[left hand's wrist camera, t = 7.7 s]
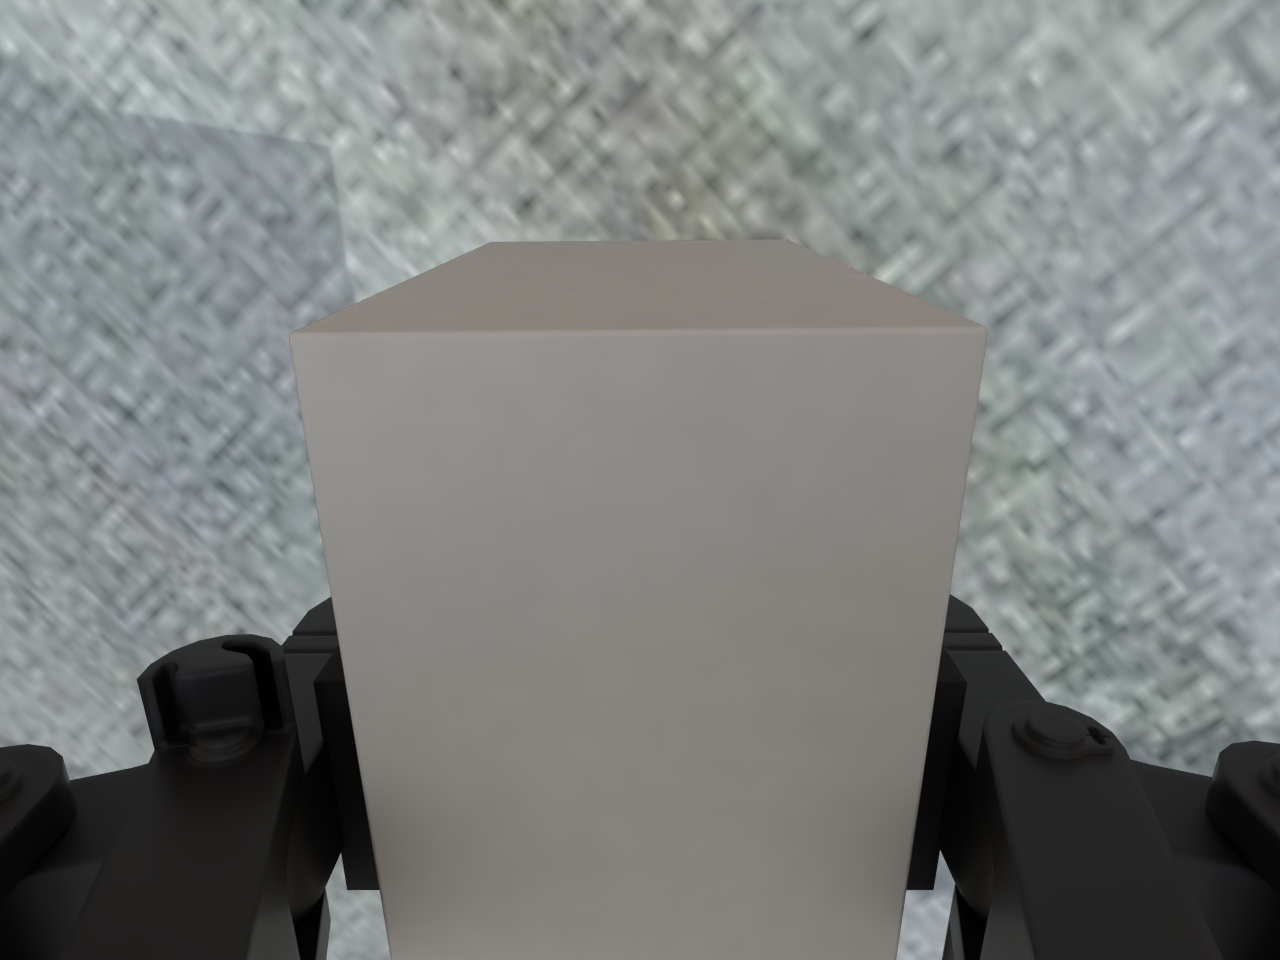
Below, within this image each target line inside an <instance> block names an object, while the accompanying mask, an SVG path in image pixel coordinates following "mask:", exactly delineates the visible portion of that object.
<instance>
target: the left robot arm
mask: <svg viewBox="0 0 1280 960" xmlns="http://www.w3.org/2000/svg"><path fill="white" fill-rule="evenodd" d="M137 682H138V686H139V690H140V694H141V697H142V701H143V705H144V709H145V713H146V717H147V721H148V725H149V729H150V733H151V737H152V741H153V745H154V749H155V751H154V753H153V755H152V757H151V759H150V761H149V763H148V764H145V765H141V766H137V767H133V768H129V769H124V770H119V771H114V772H109V773H104V774H100V775H95V776H90V777H85V778H80V779H75V780H69V777H68V774H67V770H66V767H65V764H64V760H63V757H62V756H61V755H60V754H58V753H57V752H56V751H54V750H53V749H52V748H51V747H45V746H38V745H30V744H26V745H17V746H9V747H1V748H0V960H326V956H327V947H328V939H329V930H330V922H331V920H330V913H329V906H328V900H327V894H326V888H325V887H326V884H327V882H328V880H329V878H330V875H331V873H332V871H333V869H334V867H335V864H336V862H337V860H338V858H339V855H340V853H341V855H342V861H343V867H344V873H345V879H346V885H347V890H380V888H379V882H378V876H377V870H376V864H375V858H374V852H373V846H372V840H371V834H370V828H369V822H368V816H367V810H366V804H365V797H364V791H363V785H362V779H361V773H360V767H359V761H358V755H357V749H356V743H355V737H354V731H353V725H352V719H351V712H350V706H349V700H348V694H347V688H346V682H345V676H344V670H343V664H342V658H341V652H340V646H339V640H338V634H337V628H336V621H335V615H334V609H333V603H332V597H330V598H328V599H327V600H325V601H324V602H322V603H320V604H319V605H317V606H316V607H314V608H312V609H311V610H309V611H308V613H307V614H306V615H305V616H304V618H303V619H302V620H301V621H300V623H299V624H298V625H297V627H296V628H295V629H294V630H293V635H292V636H289V637H288V638H287V639H286V641H285V642H284V643H283V645H282V646H281V645H279V644H278V643H277V642H275V641H274V640H273V639H271V638H267V637H262V636H257V635H253V634H245V635H225V636H220V637H215V638H210V639H205V640H200V641H197V642H195V643H192V644H189V645H187V646H184V647H181V648H179V649H176V650H173V651H172V652H170V653H168V654H167V655H165V656H163V657H162V658H160V659H158V660H157V661H155V662H153V663H152V664H150V665H149V667H148V668H147V669H146V670H145V671H144V672H143V673H142V674H141V675H140V676H139V677H138V678H137ZM940 850H941V852H942V854H943V857H944V859H945V861H946V863H947V866H948V868H949V870H950V872H951V874H952V877H953V879H954V881H955V888H954V894H953V900H952V905H951V911H950V917H949V922H948V928H947V934H946V939H945V945H944V951H943V957H942V960H1280V744H1277V743H1269V742H1260V741H1248V742H1240V743H1233V744H1231V745H1229V746H1228V747H1227V748H1225V749H1224V750H1223V751H1221V752H1220V753H1219V756H1218V760H1217V763H1216V766H1215V770H1214V773H1213V776H1212V777H1208V776H1203V775H1199V774H1194V773H1189V772H1184V771H1179V770H1174V769H1169V768H1164V767H1159V766H1154V765H1149V764H1146V763H1142V762H1138V761H1134V760H1130V758H1129V756H1128V754H1127V751H1126V749H1125V748H1124V747H1123V745H1122V744H1121V743H1120V741H1119V740H1118V739H1117V738H1116V736H1115V735H1114V734H1113V732H1111V731H1110V730H1108V729H1107V728H1105V727H1104V726H1103V725H1101V724H1100V723H1098V722H1097V721H1096V720H1094V719H1093V718H1091V717H1089V716H1087V715H1084V714H1082V713H1080V712H1077V711H1075V710H1073V709H1071V708H1068V707H1066V706H1061V705H1057V704H1053V703H1049V702H1046V701H1045V700H1044V699H1043V697H1042V696H1041V695H1040V694H1039V692H1038V691H1037V690H1036V688H1035V687H1034V686H1033V685H1032V683H1031V682H1030V681H1029V680H1028V678H1027V677H1026V676H1025V674H1024V673H1023V672H1022V671H1021V669H1020V668H1019V667H1018V666H1017V664H1016V663H1015V662H1014V661H1013V659H1012V658H1011V657H1010V655H1009V654H1008V653H1007V652H1006V651H1003V650H1002V645H1001V644H1000V643H999V641H998V640H997V639H996V638H995V636H994V635H993V634H992V633H989V629H988V628H987V626H986V625H985V624H984V622H983V621H982V620H981V619H980V617H979V616H978V615H977V614H976V612H975V611H974V610H973V608H971V607H970V606H968V605H966V604H965V603H963V602H962V601H960V600H958V599H957V598H955V597H954V596H952V595H950V594H949V601H948V608H947V615H946V621H945V628H944V635H943V642H942V649H941V656H940V662H939V669H938V676H937V683H936V690H935V697H934V703H933V710H932V717H931V724H930V731H929V738H928V744H927V751H926V758H925V765H924V772H923V779H922V786H921V792H920V799H919V806H918V813H917V820H916V827H915V833H914V840H913V847H912V854H911V861H910V868H909V874H908V881H907V888H906V890H933V889H934V883H935V877H936V871H937V864H938V858H939V852H940Z"/></svg>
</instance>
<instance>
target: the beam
mask: <svg viewBox="0 0 1280 960" xmlns="http://www.w3.org/2000/svg"><path fill="white" fill-rule="evenodd" d="M987 334H988V332H987V328H986V327H984V326H982V325H980V324H977V323H975V322H973V321H970V320H968V319H966V318H964V317H961V316H959V315H957V314H955V313H952V312H950V311H948V310H946V309H943V308H941V307H939V306H937V305H934V304H932V303H930V302H927V301H925V300H923V299H921V298H918V297H916V296H914V295H912V294H909V293H907V292H905V291H903V290H900V289H898V288H896V287H893V286H891V285H889V284H887V283H884V282H882V281H880V280H878V279H875V278H873V277H871V276H869V275H866V274H864V273H862V272H860V271H857V270H855V269H853V268H850V267H848V266H846V265H844V264H841V263H839V262H837V261H835V260H832V259H830V258H828V257H826V256H823V255H821V254H819V253H817V252H814V251H812V250H810V249H807V248H805V247H803V246H801V245H798V244H796V243H794V242H792V241H789V240H678V241H562V242H490V243H488V244H486V245H484V246H481V247H479V248H477V249H475V250H473V251H470V252H468V253H466V254H464V255H462V256H459V257H457V258H455V259H453V260H451V261H448V262H446V263H444V264H442V265H440V266H437V267H435V268H433V269H431V270H429V271H426V272H424V273H422V274H420V275H418V276H415V277H413V278H411V279H409V280H406V281H404V282H402V283H400V284H398V285H395V286H393V287H391V288H389V289H387V290H384V291H382V292H380V293H378V294H376V295H373V296H371V297H369V298H367V299H365V300H362V301H360V302H358V303H356V304H354V305H351V306H349V307H347V308H345V309H343V310H340V311H338V312H336V313H334V314H332V315H329V316H327V317H325V318H323V319H321V320H318V321H316V322H314V323H312V324H310V325H307V326H305V327H303V328H301V329H299V330H296V331H294V332H292V333H290V336H289V342H290V348H291V354H292V360H293V367H294V373H295V379H296V385H297V391H298V397H299V403H300V409H301V415H302V421H303V427H304V433H305V439H306V445H307V452H308V458H309V464H310V470H311V476H312V482H313V488H314V494H315V500H316V506H317V512H318V518H319V524H320V530H321V536H322V543H323V549H324V555H325V561H326V567H327V573H328V579H329V585H330V591H331V597H332V603H333V609H334V615H335V621H336V628H337V634H338V640H339V646H340V652H341V658H342V664H343V670H344V676H345V682H346V688H347V694H348V700H349V706H350V712H351V719H352V725H353V731H354V737H355V743H356V749H357V755H358V761H359V767H360V773H361V779H362V785H363V791H364V797H365V804H366V810H367V816H368V822H369V828H370V834H371V840H372V846H373V852H374V858H375V864H376V870H377V876H378V882H379V888H380V895H381V901H382V907H383V913H384V919H385V925H386V931H387V937H388V943H389V949H390V955H391V960H896V956H897V950H898V943H899V936H900V929H901V922H902V915H903V909H904V902H905V895H906V888H907V881H908V874H909V868H910V861H911V854H912V847H913V840H914V833H915V827H916V820H917V813H918V806H919V799H920V792H921V786H922V779H923V772H924V765H925V758H926V751H927V744H928V738H929V731H930V724H931V717H932V710H933V703H934V697H935V690H936V683H937V676H938V669H939V662H940V656H941V649H942V642H943V635H944V628H945V621H946V615H947V608H948V601H949V594H950V587H951V580H952V574H953V567H954V560H955V553H956V546H957V539H958V533H959V526H960V519H961V512H962V505H963V498H964V492H965V485H966V478H967V471H968V464H969V457H970V450H971V444H972V437H973V430H974V423H975V416H976V409H977V403H978V396H979V389H980V382H981V375H982V368H983V362H984V355H985V348H986V341H987Z"/></svg>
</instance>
